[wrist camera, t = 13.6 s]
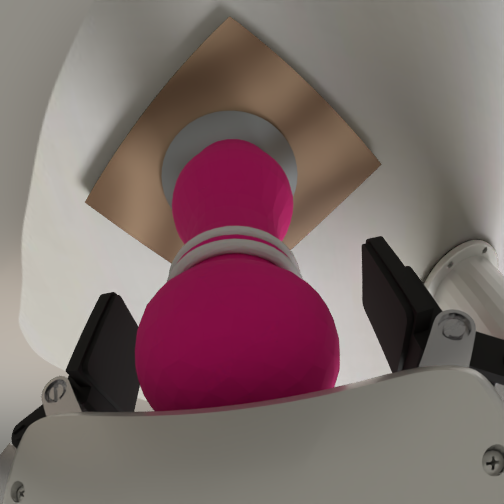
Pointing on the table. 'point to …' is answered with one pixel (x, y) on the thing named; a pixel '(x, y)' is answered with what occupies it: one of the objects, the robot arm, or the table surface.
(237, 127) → the walnut board
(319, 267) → the table surface
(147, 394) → the pepper mill
